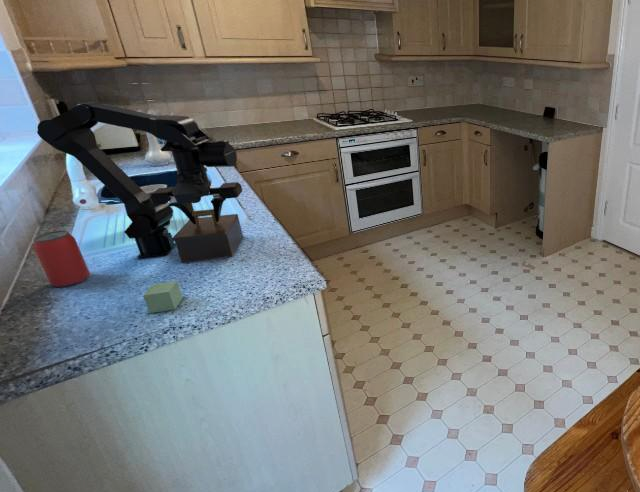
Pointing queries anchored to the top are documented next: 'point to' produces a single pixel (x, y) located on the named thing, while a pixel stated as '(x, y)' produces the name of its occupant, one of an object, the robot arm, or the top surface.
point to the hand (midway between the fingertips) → (206, 222)
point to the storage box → (210, 245)
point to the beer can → (61, 258)
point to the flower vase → (155, 147)
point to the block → (163, 297)
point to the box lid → (205, 226)
